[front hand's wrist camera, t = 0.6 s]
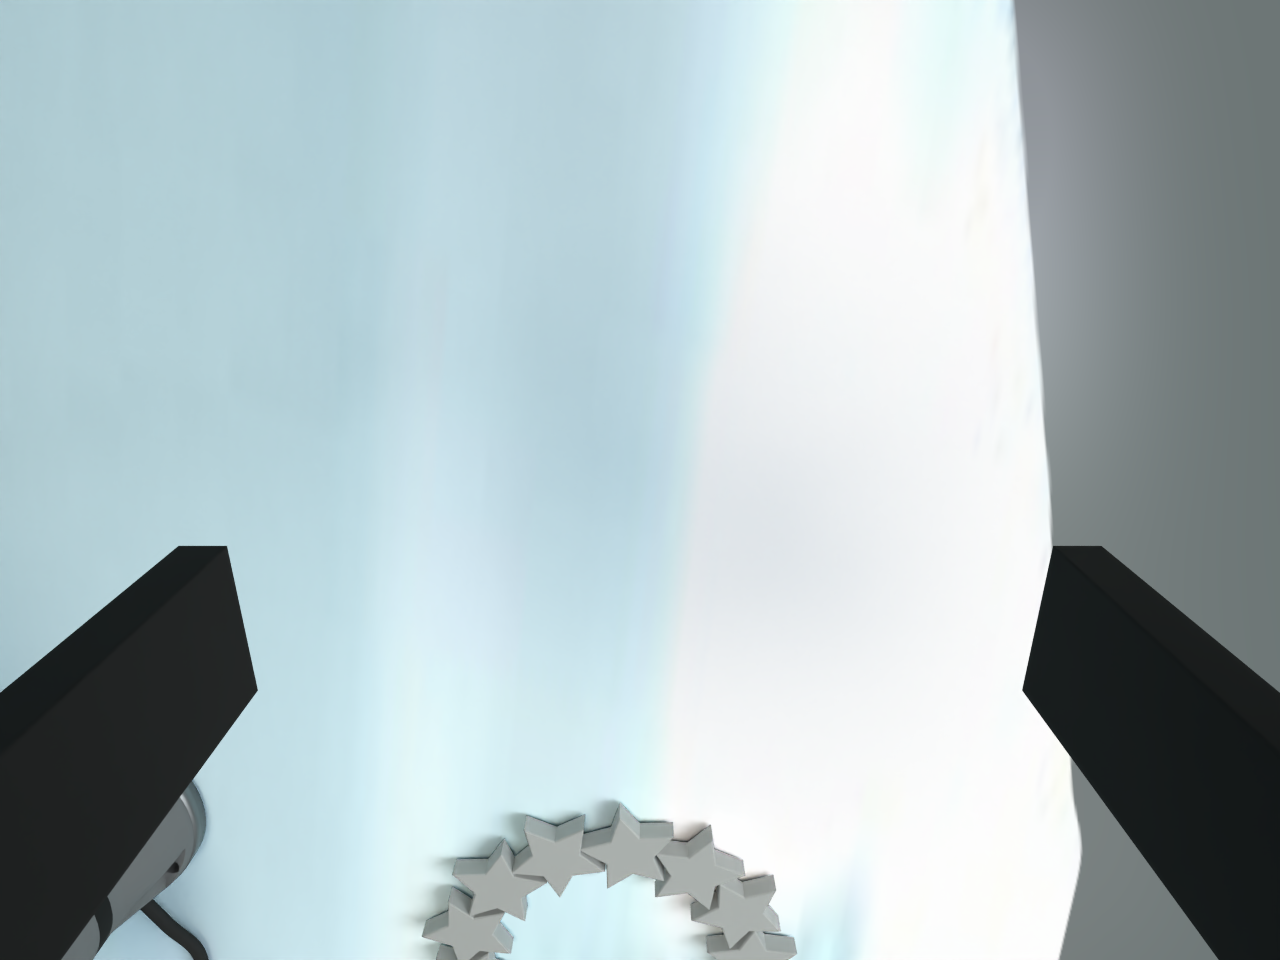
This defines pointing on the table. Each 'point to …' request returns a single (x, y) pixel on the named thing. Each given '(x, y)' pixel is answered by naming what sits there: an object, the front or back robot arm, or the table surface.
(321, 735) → the table surface
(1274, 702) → the front robot arm
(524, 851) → the decorative wreath
